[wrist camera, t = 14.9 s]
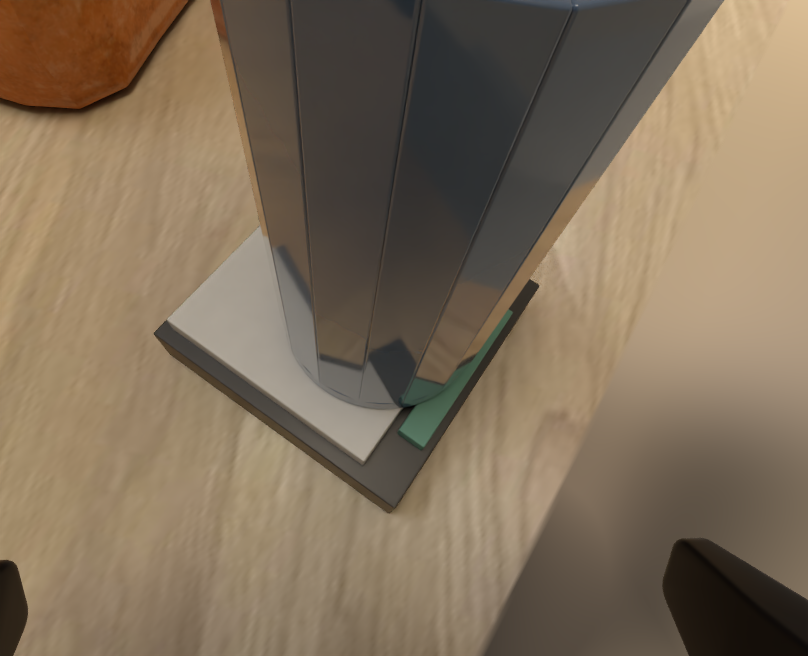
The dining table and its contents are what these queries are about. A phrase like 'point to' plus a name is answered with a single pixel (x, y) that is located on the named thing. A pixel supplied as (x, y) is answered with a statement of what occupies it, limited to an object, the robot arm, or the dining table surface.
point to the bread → (76, 47)
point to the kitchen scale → (296, 393)
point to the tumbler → (429, 162)
